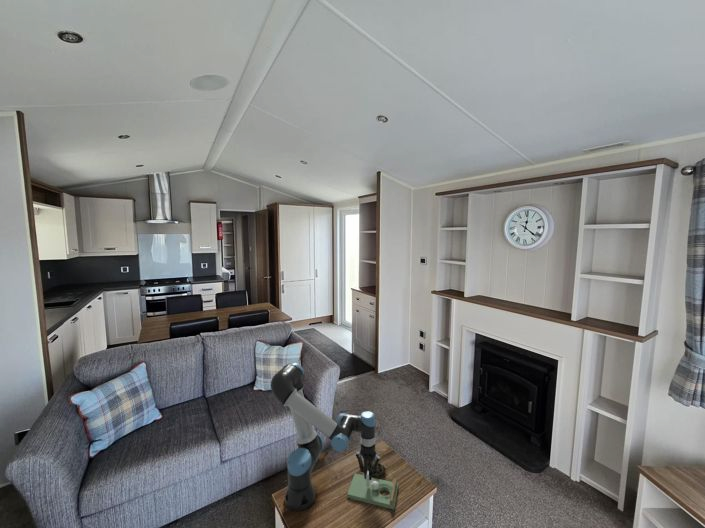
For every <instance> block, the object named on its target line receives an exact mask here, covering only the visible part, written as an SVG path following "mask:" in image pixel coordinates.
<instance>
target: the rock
mask: <svg viewBox="0 0 705 528" xmlns="http://www.w3.org/2000/svg"><path fill="white" fill-rule="evenodd" d="M375 462H376V460H375V458H374V459H373V460H372V470H373V469H374V465H375ZM367 469H368V470H367V471H369V461H368V460H367ZM386 471H387V468H386V467H385V465H384V464H381V463H380V462H378V464H377V467H376V471H375V474H374V475H373V474H372V477H374V478H380V476H382V475H384V474H386V473H385V472H386Z"/></svg>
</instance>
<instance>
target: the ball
mask: <svg viewBox="0 0 705 528" xmlns="http://www.w3.org/2000/svg"><path fill="white" fill-rule="evenodd" d="M371 487H372V489H373V490H377V489H378V488H379V484H378V482H377V481H373V482H372V483H371Z"/></svg>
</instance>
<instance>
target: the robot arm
mask: <svg viewBox="0 0 705 528" xmlns="http://www.w3.org/2000/svg"><path fill="white" fill-rule="evenodd" d="M304 376H305V369H304V367H303V366H302V365H300V364H299V363H298V362H294V361H293V362H291V361H290V362H288V363H287V364H285V365H283V366H282V368H281V369H280V370H279V371H277V372H276V373H275V374H274V375H273V376H272V378H271V380H270V391H271V394H272V395H273V396H274V398H275V399H276V401H277V402H278V403H280V404H281V405H282V406H283V407H288V408H289V409H290V412H291V415H292V420H293V423H294V426H295V431H296V434H297V437H296V446H297V448H296V449H294V450H292V452H290V454H289V455H288V458H287V463H286V467H287V487H286V491H285V494H284V502H285V506H286V507H287V508H288V509H289V510H291V511H296V512H301V511H304V510H307V509H309V508H310V507H311V506H312V505H313V504H314V502H315V498H316V491H315V488H314V485H313V481H312V471H313V469H314V467H315V465H316V463H317V462H318V459H319V457H320V456H321V454H322V452H323V449H324V440H323V437H322V436H321V435H320V434H319V433H318V432H320V433H321V434H323V435H324V436H325V437H326V438H328V439H329V440H330V442H331V443H330V444H331V447H332V449H333V450H334V451H336V452H339V453H340V452H344V451H345V450H346V449H347V446H348V445H349V442H350V440H351V437H352V435H353V433H354V432H356V433H357V432H358V433H360V450H358V451H356V453H355V457H356V458H357V461H358V466H359V469H360V472H361V473H363V475H364V479H366V486H367V487H369V485H370V480H371V479H372V478H373V475H374V474H375V471H376V467H377V464H378V463H380V460H381V455H378V454H377V452H376V416H375V413H374V412H372V411H371V410H370V411H369V410H367V411H363V412H361V414H359V415H357V414H354V413H353V414H351V413H348V412H347V413H345V412H343V413H341V412H340V413H339V414H338V416H337V421H335V420H333V419H332V418H331V417H330V416H328V415H327V414H326V413H324V412H323V411H322V410H321V409H320V408H318V407H317V406H315V405H314V404H313V403H312V402H310V401H309V400H308V399H306V398H305V395H304V392H303V390H304V388H305V383H304V380H303V379H304ZM313 427H314V428H315V429H316V430H315V429H314V428H313ZM317 431H318V432H317ZM374 458H375V460H376V462H375V465H374V469H373V470H372V460H373V459H374ZM367 460H368V461H369V471H367V470H368V469H367ZM372 474H373V475H372Z"/></svg>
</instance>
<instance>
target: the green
mask: <svg viewBox="0 0 705 528" xmlns="http://www.w3.org/2000/svg"><path fill="white" fill-rule="evenodd" d="M397 479H398V478H395V477H394V478H393V481H389V480H385V479H380V478H378V477H372V479H371V480H370V485H369V487H367V486H366V479H364V474H359V473H354V475H353V478H352V480H351V483H350V486H349V489H348V491H347V493H346V498H348V499H351V500H355V501H359V502H364V503H367V504H371V505H375V506H379V507H383V508H387V509H391V510H395V505H396V501H397V494H398V490H399V483H398V482H397ZM373 481H377V482H378V484H379V488H378V489H377V490H373V489H372V487H371V483H372V482H373ZM383 491H386V492H388V495H383V494H381V492H383Z"/></svg>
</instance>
